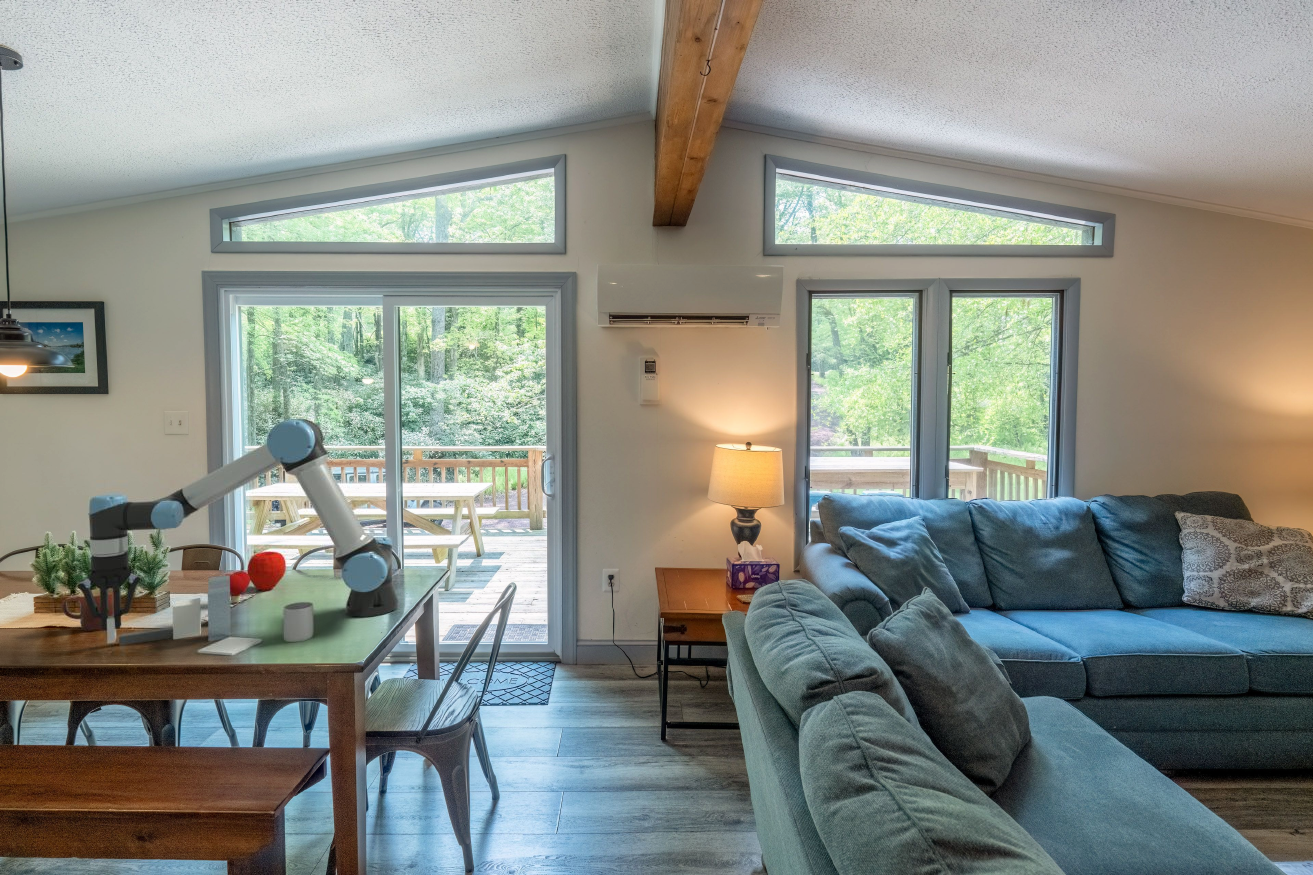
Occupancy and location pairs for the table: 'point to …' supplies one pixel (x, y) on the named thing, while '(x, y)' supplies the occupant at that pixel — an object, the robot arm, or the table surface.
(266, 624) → the table surface
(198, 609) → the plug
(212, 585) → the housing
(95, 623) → the mug
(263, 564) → the apple
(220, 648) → the pad
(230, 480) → the robot arm
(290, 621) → the cup
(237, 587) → the light bulb
